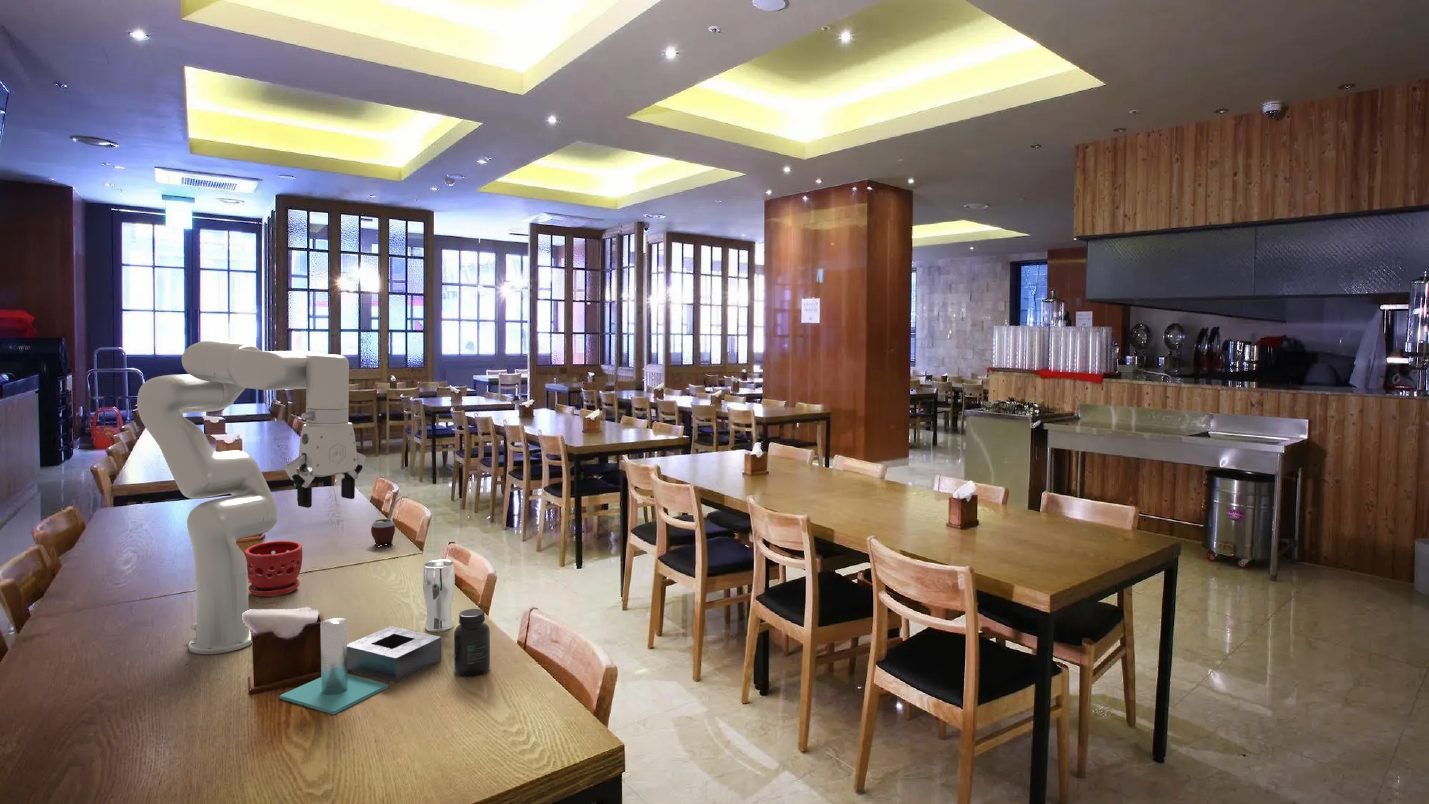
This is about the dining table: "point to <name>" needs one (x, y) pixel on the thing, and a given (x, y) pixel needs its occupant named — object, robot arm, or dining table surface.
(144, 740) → the dining table surface
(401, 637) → the block
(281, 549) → the plant pot
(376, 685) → the teal mat
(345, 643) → the steel peg
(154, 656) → the dining table surface
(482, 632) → the supplement bottle
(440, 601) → the beer glass
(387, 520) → the mate gourd
